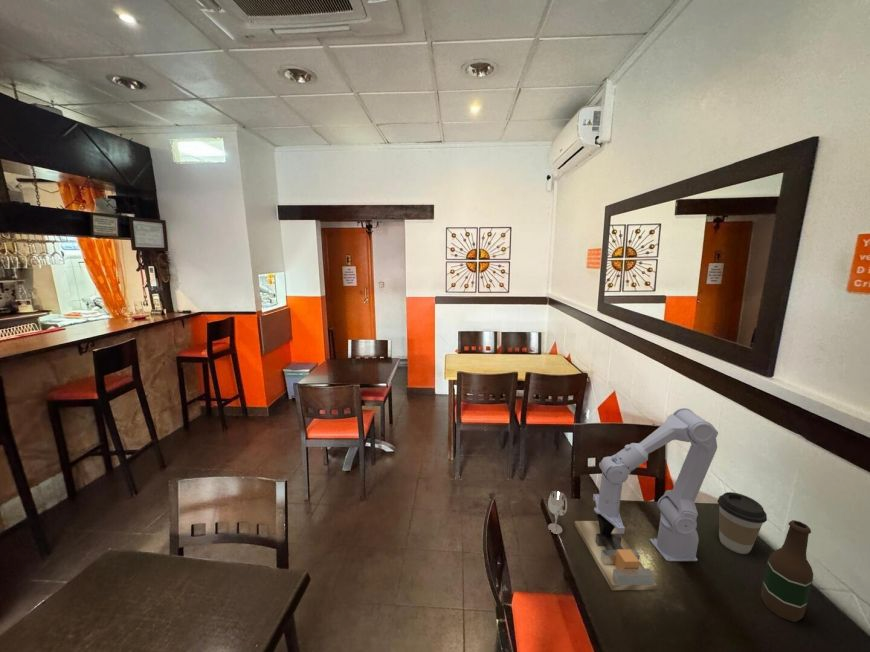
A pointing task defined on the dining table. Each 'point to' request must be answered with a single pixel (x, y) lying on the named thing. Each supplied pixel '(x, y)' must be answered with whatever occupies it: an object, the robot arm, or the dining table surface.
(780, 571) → the beer bottle
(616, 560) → the orange block
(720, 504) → the coffee cup
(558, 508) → the wineglass
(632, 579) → the fixed jaw
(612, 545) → the moving jaw
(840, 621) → the dining table surface
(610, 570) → the vise bed
